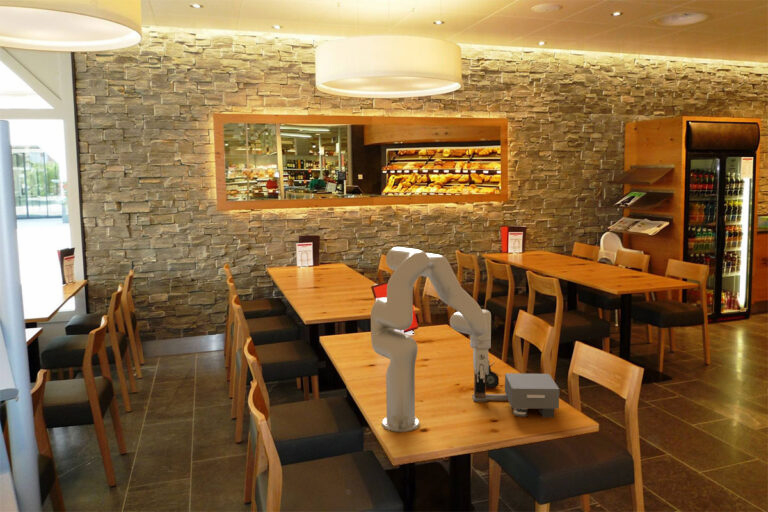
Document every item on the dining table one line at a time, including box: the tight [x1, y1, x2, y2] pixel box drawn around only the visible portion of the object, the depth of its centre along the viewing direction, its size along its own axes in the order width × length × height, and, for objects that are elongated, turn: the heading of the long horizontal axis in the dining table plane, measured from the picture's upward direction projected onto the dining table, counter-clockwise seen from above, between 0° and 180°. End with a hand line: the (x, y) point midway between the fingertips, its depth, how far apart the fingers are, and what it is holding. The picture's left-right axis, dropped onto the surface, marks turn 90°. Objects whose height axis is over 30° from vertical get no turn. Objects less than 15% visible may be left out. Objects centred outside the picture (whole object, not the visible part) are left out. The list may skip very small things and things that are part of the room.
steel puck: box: [512, 408, 529, 418], centre depth 209 cm, size 5×5×2 cm
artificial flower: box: [486, 362, 500, 389], centre depth 246 cm, size 9×22×10 cm, turn 170°
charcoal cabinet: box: [504, 372, 560, 418], centre depth 211 cm, size 17×16×11 cm
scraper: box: [472, 370, 508, 403], centre depth 222 cm, size 4×20×12 cm, turn 87°
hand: (479, 390), depth 223 cm, fingers open, 3 cm apart
